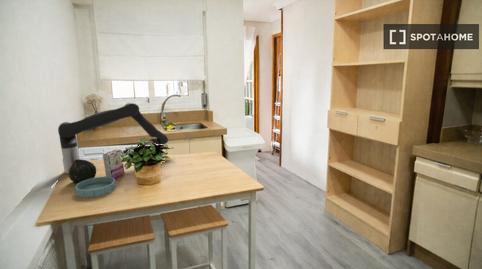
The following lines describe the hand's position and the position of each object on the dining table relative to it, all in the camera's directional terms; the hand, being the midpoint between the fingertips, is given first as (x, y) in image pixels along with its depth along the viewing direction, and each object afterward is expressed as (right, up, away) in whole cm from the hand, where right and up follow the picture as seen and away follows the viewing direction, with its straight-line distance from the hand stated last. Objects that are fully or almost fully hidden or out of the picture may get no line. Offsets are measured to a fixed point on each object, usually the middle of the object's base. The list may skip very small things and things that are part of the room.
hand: (128, 152), depth 192 cm
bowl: (-7, -19, -27) cm, 34 cm away
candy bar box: (-5, -15, -8) cm, 18 cm away
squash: (-22, -16, -13) cm, 30 cm away
